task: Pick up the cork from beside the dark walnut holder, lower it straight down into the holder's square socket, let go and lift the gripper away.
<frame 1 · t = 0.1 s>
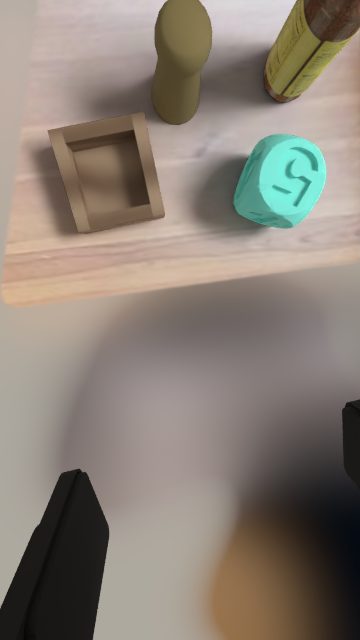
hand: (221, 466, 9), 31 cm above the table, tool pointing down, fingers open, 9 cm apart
cork: (175, 97, 32), on the table
shaker holder: (114, 182, 34), on the table
decorative dice: (262, 193, 36), on the table
sauce bottle: (282, 76, 33), on the table
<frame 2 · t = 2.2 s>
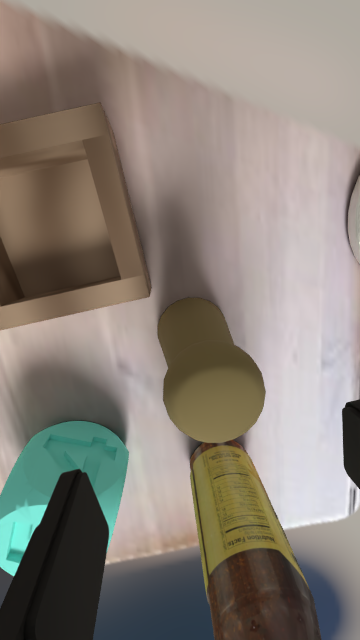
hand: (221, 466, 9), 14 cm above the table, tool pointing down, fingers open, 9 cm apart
cork: (192, 330, 22), on the table
shaker holder: (62, 232, 19), on the table
decorative dice: (83, 452, 25), on the table
sauce bottle: (218, 455, 26), on the table
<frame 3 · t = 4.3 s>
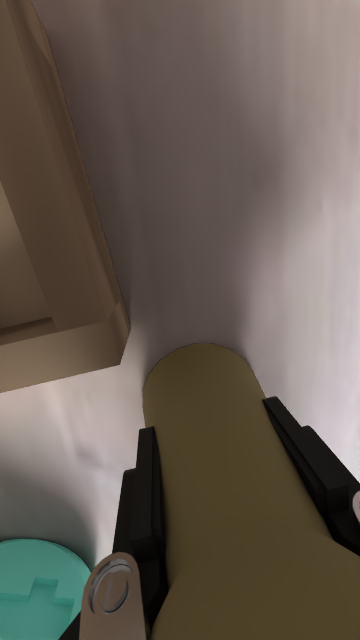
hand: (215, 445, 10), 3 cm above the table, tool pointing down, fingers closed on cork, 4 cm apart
cork: (200, 395, 13), on the table, touching gripper
decorative dice: (28, 578, 16), on the table
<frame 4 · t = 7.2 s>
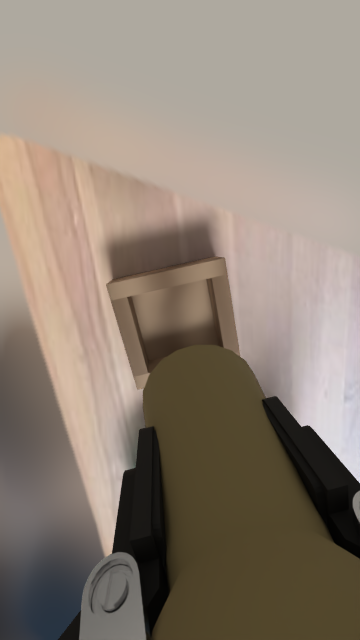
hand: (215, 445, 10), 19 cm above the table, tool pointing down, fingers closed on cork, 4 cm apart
cork: (200, 396, 13), point 16 cm above the table, touching gripper
shaker holder: (175, 317, 28), on the table
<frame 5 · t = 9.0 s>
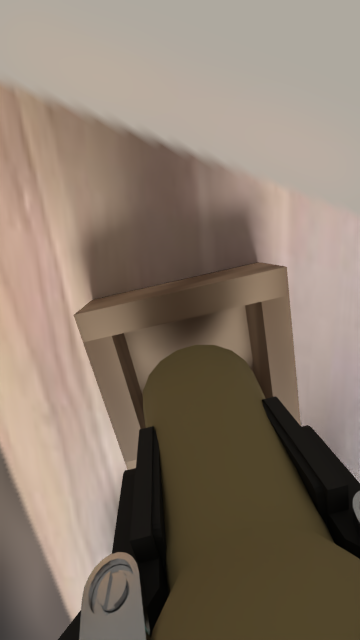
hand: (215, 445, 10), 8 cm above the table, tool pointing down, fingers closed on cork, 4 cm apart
cork: (200, 396, 13), point 5 cm above the table, touching gripper
shaker holder: (192, 357, 18), on the table
when the fingers open (5 cm above the table, at t = 10.4 s): cork drops 1 cm, resting on shaker holder.
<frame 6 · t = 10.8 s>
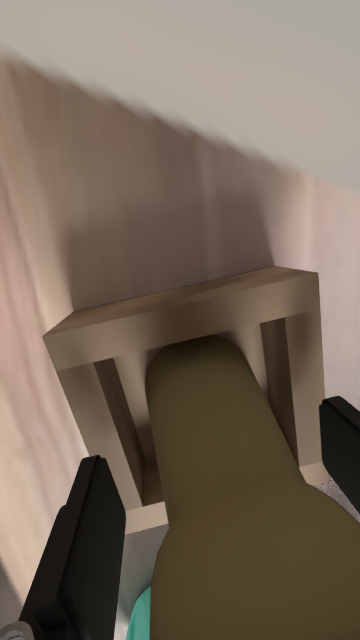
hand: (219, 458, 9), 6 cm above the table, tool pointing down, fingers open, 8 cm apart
cork: (198, 382, 14), point 1 cm above the table, touching shaker holder
shaker holder: (195, 378, 15), on the table
decorative dice: (182, 601, 21), on the table
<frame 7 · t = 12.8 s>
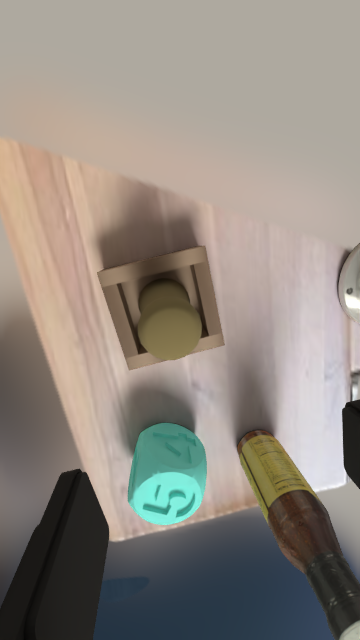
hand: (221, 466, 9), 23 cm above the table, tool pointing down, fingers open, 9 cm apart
cork: (164, 303, 30), point 1 cm above the table, touching shaker holder
shaker holder: (163, 303, 30), on the table
decorative dice: (164, 445, 36), on the table
sauce bottle: (255, 442, 38), on the table
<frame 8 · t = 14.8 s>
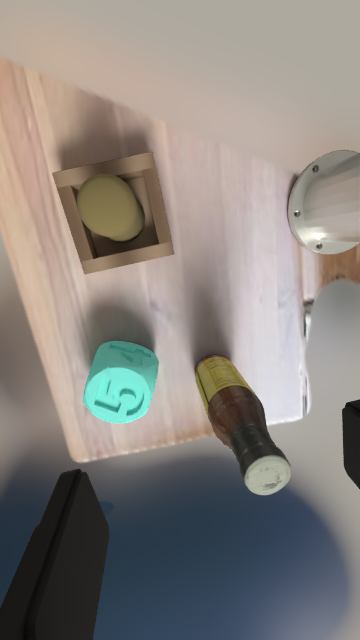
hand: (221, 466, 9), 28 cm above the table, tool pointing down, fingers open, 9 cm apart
cork: (121, 218, 32), point 1 cm above the table, touching shaker holder
shaker holder: (121, 219, 33), on the table
decorative dice: (125, 365, 38), on the table
sauce bottle: (213, 369, 40), on the table
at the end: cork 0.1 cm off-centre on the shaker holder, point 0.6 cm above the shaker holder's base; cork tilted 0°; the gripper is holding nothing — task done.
